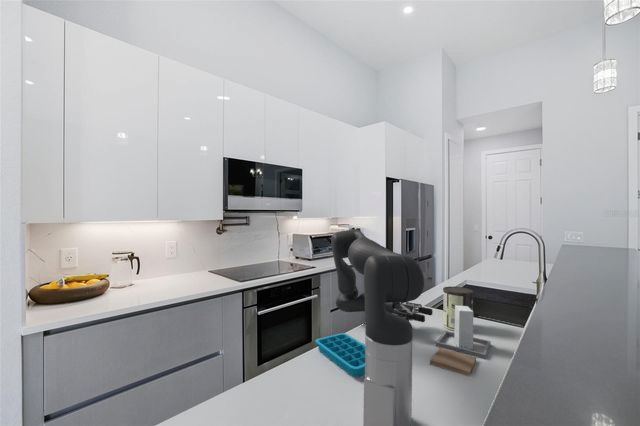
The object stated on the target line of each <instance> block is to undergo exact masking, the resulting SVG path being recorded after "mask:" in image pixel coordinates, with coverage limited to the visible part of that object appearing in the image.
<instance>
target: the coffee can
mask: <svg viewBox="0 0 640 426" xmlns="http://www.w3.org/2000/svg"><path fill="white" fill-rule="evenodd" d="M442 292H443V295H442V297H443V300H442V301H443V304H442V305H443V306H442V307H443V311H442V312H443V315H442V319H443V321H442V326H443V327H444V328H445V329H448V330H449V331H451V332H455V305H458V306H468V307H469V308H470V309H471V310H472V311H473V312H474V307H473V306H474V305H473V304H474V290H472V289H470V288H466V287H461V286H444V287H442Z"/></svg>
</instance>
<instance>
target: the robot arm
mask: <svg viewBox="0 0 640 426" xmlns="http://www.w3.org/2000/svg"><path fill="white" fill-rule="evenodd" d="M330 241H331V242H330V243H331V252H332V256H333V260H334V265H335V269H336V274H337V275H336V276H337V288H338V291H339V295H338V296H337V298H336V300H335V306H336V307H337V309H339V310H340V311H342V312H345V313H357V312H364V322H365V330H364V331H365V337H364V338H365V340H364V342H365V344H364V345H365V374H364V379H363V421H362V422H363V426H412V422H413V421H412V418H413V417H412V416H413V415H412V413H413V412H412V407H413V406H412V403H413V401H412V400H413V397H412V396H413V392H412V391H413V339H414V338H413V334H414V333H413V331H414V330H413V325H412V323H411V322H412V321H416V322H420V323H425V321H426V316H425V315H427V316H433V308H430V307H429V308H428V307H424V306H423V305H422V304H421V303H415V302H412V301H415V300H417V299H418V298H419V297H420V296H421V295H422V293H423V291H424V288H425V277H424V273H423V271H422V269H421V266H420V265H419V263H418V261H416V260H415V259H414V258H412V257H411V256H410V255H409V256H408V255H406V254H405V255H404V254H401V253H398V252H394V251H392V250H391V249H388V248H386V247H385V246H383V245H381V244H379V243H378V242H376V241H374V240H372V239H370V238H368V237H367V236H366V235H365V234H364V233H363V232H362V231H360V230H359V229H356V228H354V229H353V228H352V229H346V230H342V231H340V230H339V231H337V232H334V233H332V235H331V239H330ZM347 258H348V261H349V263H350V265H351V266H352V267H351V266H350V265H349V264H348V263H346V261H345V260H344V259H347ZM353 268H354V269H355V271H357V272H358V273H359V274H361V275H363V286H364V287H363V289H364V292H363V293H360V295H359V289H358V287H357V276H356V272H355V271H354V269H353Z"/></svg>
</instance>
